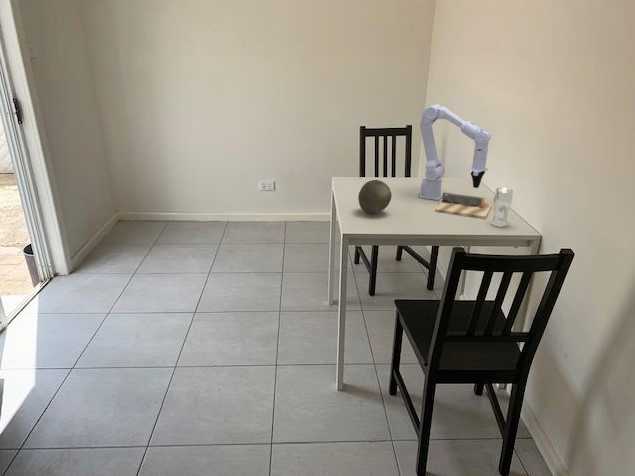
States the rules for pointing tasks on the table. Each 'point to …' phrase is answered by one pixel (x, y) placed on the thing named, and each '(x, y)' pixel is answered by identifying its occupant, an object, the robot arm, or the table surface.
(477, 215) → the label board
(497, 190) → the beer glass
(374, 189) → the grey ball
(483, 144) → the robot arm
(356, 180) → the table surface
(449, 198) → the swing bar
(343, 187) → the table surface
